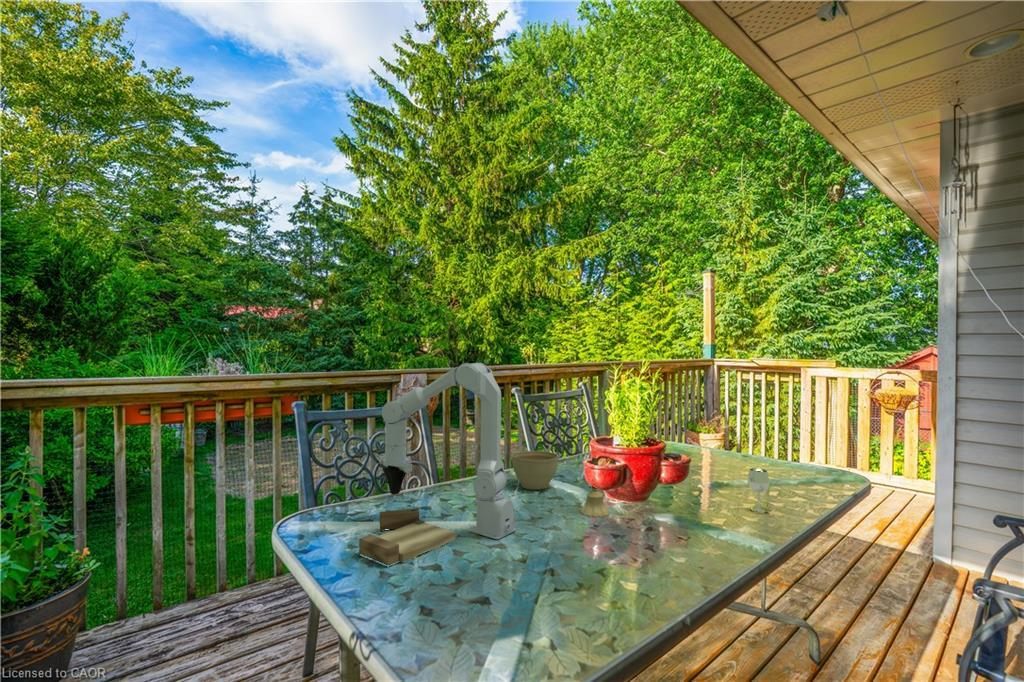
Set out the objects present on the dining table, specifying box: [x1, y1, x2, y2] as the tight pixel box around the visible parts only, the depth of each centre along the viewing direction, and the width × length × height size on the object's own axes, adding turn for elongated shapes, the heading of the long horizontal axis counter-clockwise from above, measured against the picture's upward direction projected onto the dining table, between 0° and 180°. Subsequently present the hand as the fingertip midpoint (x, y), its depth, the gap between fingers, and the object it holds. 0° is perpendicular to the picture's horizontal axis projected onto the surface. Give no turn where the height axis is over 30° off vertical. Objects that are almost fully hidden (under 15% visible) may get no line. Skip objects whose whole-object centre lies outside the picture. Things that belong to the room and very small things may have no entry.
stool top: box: [358, 519, 457, 565], centre depth 118 cm, size 13×20×4 cm, turn 144°
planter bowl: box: [511, 450, 559, 490], centre depth 171 cm, size 16×16×11 cm
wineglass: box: [747, 467, 770, 512], centre depth 147 cm, size 6×6×12 cm
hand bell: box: [580, 457, 610, 518], centre depth 144 cm, size 8×8×16 cm
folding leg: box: [379, 507, 420, 530], centre depth 131 cm, size 3×10×4 cm, turn 109°
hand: (395, 493), depth 137 cm, fingers closed
